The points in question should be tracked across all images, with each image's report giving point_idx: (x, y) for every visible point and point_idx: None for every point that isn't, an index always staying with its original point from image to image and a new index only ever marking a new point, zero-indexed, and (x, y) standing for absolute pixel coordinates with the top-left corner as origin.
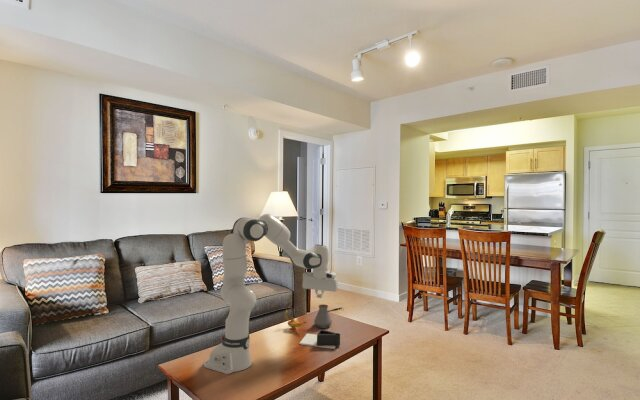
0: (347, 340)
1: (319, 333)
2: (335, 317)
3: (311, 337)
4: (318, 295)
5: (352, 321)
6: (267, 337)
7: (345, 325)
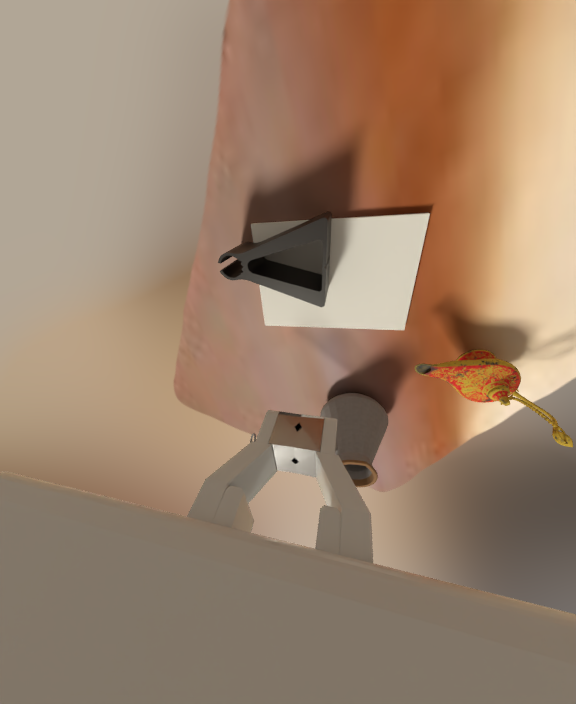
0: (237, 317)
1: (323, 258)
2: None
3: (376, 296)
4: (306, 440)
5: None
6: None
7: None
